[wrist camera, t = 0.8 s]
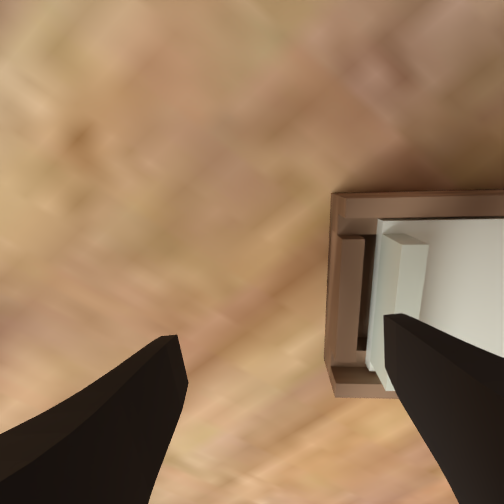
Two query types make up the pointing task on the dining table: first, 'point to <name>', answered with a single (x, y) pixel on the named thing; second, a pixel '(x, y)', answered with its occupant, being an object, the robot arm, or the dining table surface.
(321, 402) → the dining table surface
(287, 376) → the dining table surface
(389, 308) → the cover plate
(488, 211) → the groove box
